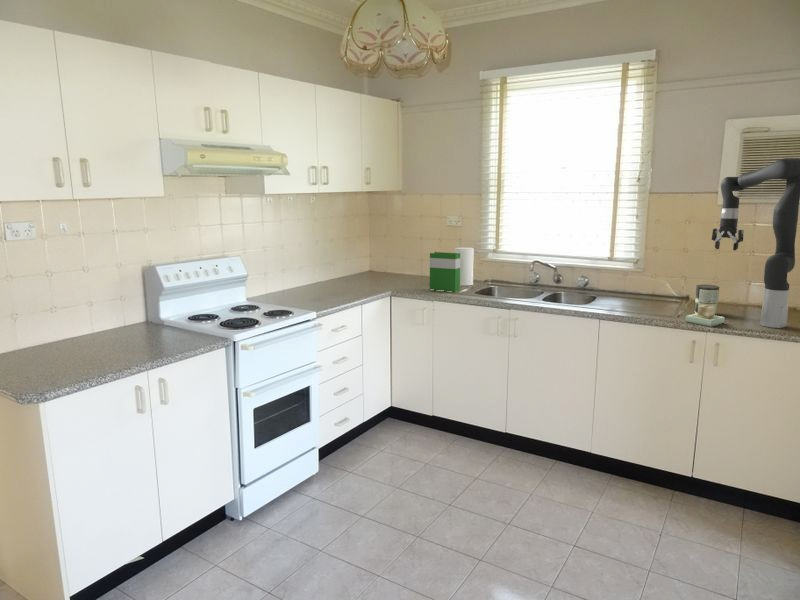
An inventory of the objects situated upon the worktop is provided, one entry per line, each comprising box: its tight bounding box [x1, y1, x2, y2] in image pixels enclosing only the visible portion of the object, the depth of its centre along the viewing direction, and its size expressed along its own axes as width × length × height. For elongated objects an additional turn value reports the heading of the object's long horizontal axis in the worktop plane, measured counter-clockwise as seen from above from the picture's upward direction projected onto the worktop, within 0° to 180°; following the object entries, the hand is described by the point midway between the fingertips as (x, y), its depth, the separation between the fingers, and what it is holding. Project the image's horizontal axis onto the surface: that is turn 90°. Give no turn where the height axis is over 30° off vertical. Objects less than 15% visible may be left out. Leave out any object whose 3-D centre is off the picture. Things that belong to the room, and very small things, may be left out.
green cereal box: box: [429, 251, 461, 293], centre depth 351 cm, size 18×7×24 cm, turn 61°
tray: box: [684, 313, 726, 328], centre depth 264 cm, size 12×12×3 cm
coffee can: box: [693, 284, 720, 316], centre depth 283 cm, size 10×10×14 cm
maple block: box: [698, 305, 715, 320], centre depth 263 cm, size 5×5×7 cm
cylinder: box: [454, 246, 475, 286], centre depth 372 cm, size 12×12×25 cm
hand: (725, 249), depth 282 cm, fingers open, 8 cm apart
